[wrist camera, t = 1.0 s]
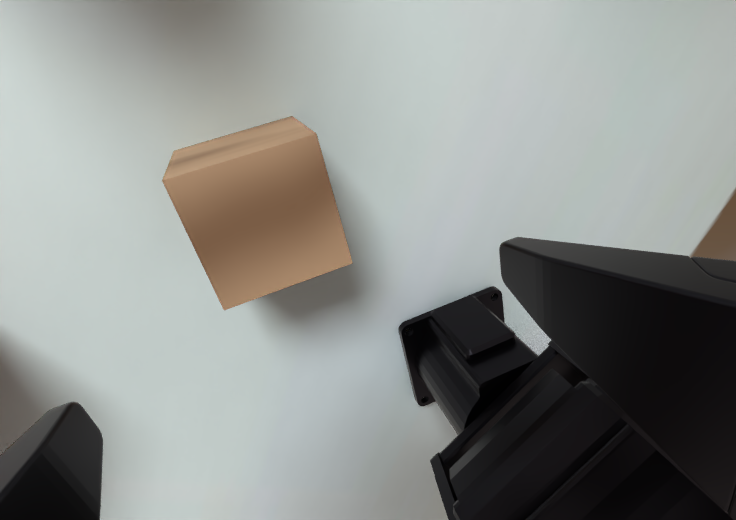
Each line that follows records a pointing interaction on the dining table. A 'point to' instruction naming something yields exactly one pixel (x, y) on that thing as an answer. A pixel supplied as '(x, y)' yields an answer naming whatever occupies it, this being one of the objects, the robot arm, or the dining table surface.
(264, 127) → the light brown wooden cube
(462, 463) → the robot arm
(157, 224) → the dining table surface
